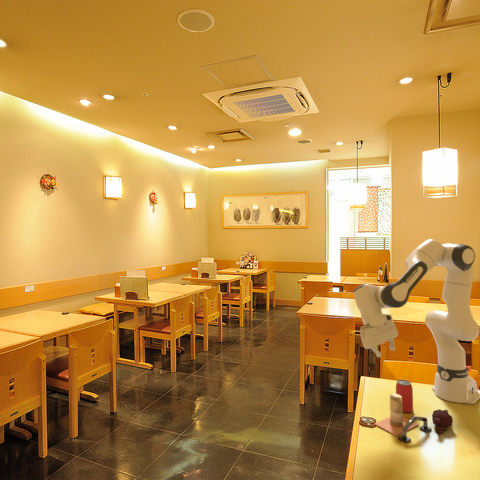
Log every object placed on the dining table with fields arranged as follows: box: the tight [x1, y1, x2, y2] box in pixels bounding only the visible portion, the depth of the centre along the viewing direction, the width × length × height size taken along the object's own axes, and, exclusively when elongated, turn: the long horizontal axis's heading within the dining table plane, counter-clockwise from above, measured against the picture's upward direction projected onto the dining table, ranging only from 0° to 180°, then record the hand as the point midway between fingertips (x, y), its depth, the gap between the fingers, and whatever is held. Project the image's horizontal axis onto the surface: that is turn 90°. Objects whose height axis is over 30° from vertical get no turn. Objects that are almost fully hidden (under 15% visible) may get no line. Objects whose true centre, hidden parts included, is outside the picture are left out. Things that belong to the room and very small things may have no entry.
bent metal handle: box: [397, 415, 432, 444], centre depth 129 cm, size 16×3×7 cm, turn 120°
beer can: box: [395, 379, 414, 414], centre depth 148 cm, size 7×7×12 cm
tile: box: [374, 416, 420, 437], centre depth 136 cm, size 14×10×1 cm
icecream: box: [431, 408, 454, 436], centre depth 134 cm, size 7×7×15 cm
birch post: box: [389, 393, 403, 427], centre depth 136 cm, size 5×5×11 cm
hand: (386, 353), depth 144 cm, fingers open, 8 cm apart
